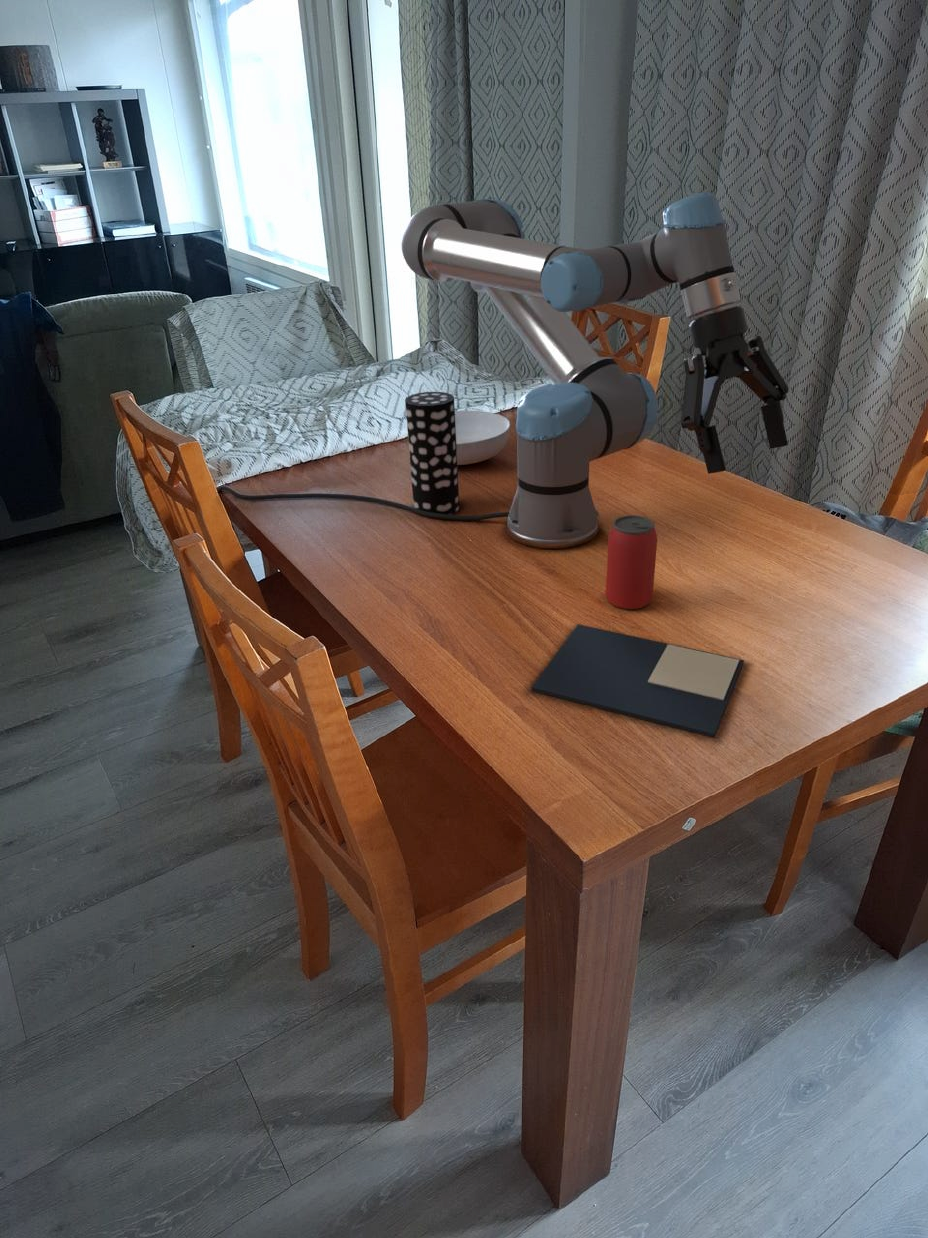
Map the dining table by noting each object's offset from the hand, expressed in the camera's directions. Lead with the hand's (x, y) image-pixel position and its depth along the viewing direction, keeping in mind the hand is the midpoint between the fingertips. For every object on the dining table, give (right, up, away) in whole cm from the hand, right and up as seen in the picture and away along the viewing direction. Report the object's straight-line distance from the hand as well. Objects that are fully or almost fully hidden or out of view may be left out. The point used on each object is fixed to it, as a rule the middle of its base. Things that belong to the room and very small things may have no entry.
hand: (748, 459), depth 121 cm
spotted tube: (-47, -3, +29) cm, 55 cm away
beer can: (-18, -21, -2) cm, 28 cm away
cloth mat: (-20, -31, -19) cm, 41 cm away
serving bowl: (-42, +10, +52) cm, 67 cm away
